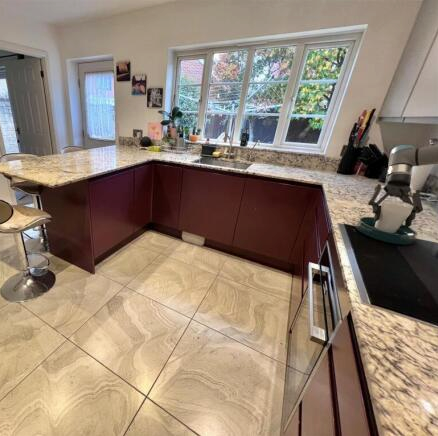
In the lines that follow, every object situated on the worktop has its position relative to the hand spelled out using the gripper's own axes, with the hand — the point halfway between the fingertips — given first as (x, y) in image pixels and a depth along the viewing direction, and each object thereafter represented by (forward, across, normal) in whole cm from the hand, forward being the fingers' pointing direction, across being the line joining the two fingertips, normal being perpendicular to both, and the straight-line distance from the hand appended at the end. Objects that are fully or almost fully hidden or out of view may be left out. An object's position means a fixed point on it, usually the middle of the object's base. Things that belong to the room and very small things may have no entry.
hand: (391, 223), depth 96 cm
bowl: (+3, 0, -7) cm, 8 cm away
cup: (+1, 0, -5) cm, 5 cm away
